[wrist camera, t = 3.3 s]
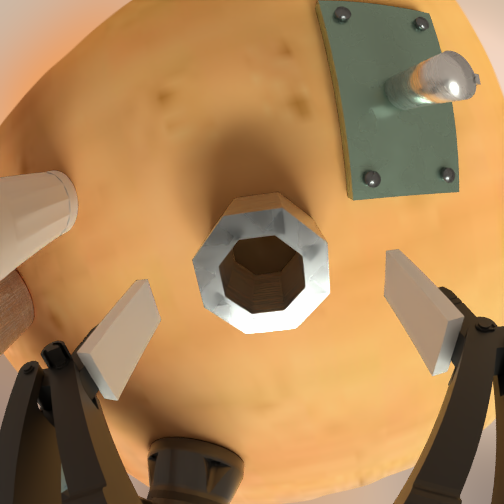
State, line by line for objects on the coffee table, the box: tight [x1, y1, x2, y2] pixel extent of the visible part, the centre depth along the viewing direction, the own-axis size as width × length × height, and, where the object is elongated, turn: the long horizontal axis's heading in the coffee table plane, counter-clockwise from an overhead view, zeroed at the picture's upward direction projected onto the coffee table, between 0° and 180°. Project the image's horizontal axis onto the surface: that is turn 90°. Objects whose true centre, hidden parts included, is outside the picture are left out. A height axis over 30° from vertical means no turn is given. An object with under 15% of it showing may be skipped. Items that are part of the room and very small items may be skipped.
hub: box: [192, 192, 330, 334], centre depth 20 cm, size 8×8×6 cm
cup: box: [0, 170, 78, 281], centre depth 17 cm, size 8×8×12 cm
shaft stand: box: [315, 0, 480, 200], centre depth 14 cm, size 10×16×9 cm, turn 9°
